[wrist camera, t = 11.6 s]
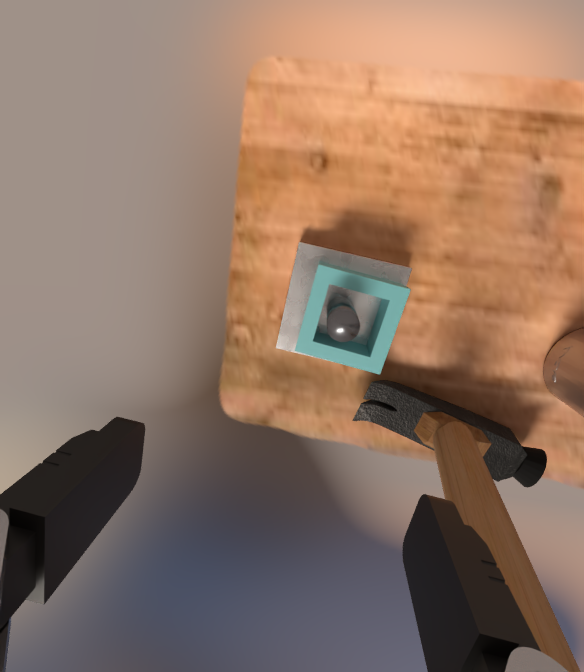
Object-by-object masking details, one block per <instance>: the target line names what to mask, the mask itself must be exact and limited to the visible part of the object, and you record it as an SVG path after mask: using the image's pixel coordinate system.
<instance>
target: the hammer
mask: <svg viewBox="0 0 584 672" xmlns="http://www.w3.org/2000/svg"><path fill="white" fill-rule="evenodd" d="M364 399H372V400H370V401H366V402H363V403H361V405H360V407H359V409H358V411H357V413H356V415H355V417H354V419H353V421H360V420H362V421H369V422H373V423H376V424H378V425H381V426H383V427H385V428H387V429H389V430H392V431H394V432H396V433H398V434H400V435H403V436H405V437H407V438H409V439H411V440H413V441H415V442H417V443H419V444H421V445H423V446H426V447H428V448H430V449H432V450H434V451H435V455H436V460H437V464H438V468H439V473H440V478H441V482H442V487H443V491H444V496H445V499H446V500H450V501H452V502H453V503H454V504H455V506H456V508H457V510H458V512H459V514H460V516H461V519H462V521H463V523H464V524H465V525H469V526H471V527H472V528H473V529H474V530H475V531H476V532H477V534H478V535H479V536H480V537H481V538H482V539H483V540H484V542H485V543H486V544H487V545H488V547H489V549H490V551H491V553H492V555H493V557H494V559H495V561H496V563H497V567H498V568H499V569H500V571H501V573H502V575H503V577H504V579H505V584H506V585H508V587H509V589H510V591H511V593H512V595H513V597H514V599H515V601H516V603H517V604H518V606H519V608H520V610H521V612H522V614H523V616H524V618H525V620H526V622H527V624H528V626H529V628H530V630H531V632H532V634H533V636H534V638H535V640H536V642H537V644H538V646H539V648H540V650H541V652H542V653H544V654H546V655H548V656H549V657H551V658H552V659H554V660H555V661H556V662H558V663H559V664H560V665H561V666H563V667H564V668H565V669H566V670H567V671H568V672H580V670H579V668H578V665H577V663H576V661H575V659H574V657H573V654H572V652H571V650H570V648H569V646H568V643H567V641H566V639H565V637H564V635H563V632H562V630H561V628H560V626H559V624H558V621H557V619H556V617H555V615H554V613H553V611H552V608H551V606H550V604H549V602H548V600H547V597H546V595H545V593H544V591H543V589H542V586H541V584H540V582H539V580H538V578H537V575H536V573H535V571H534V569H533V567H532V564H531V562H530V560H529V558H528V556H527V554H526V551H525V549H524V547H523V545H522V543H521V540H520V538H519V536H518V534H517V532H516V529H515V527H514V525H513V523H512V521H511V518H510V516H509V514H508V512H507V510H506V508H505V505H504V503H503V501H502V499H501V497H500V494H499V492H498V490H497V488H496V486H495V484H494V481H493V479H494V480H496V481H500V480H503V479H507V478H510V477H514V478H515V479H516V480H517V481H519V482H520V483H521V484H522V485H523V486H524V487H531V486H533V485H534V484H536V483H537V482H538V480H539V479H540V478H541V476H542V475H543V473H544V470H545V468H546V463H547V456H546V453H545V451H543V450H542V449H536V448H529V447H523V446H521V444H520V443H519V441H518V440H517V438H516V437H515V435H514V434H513V433H512V431H511V430H510V429H509V428H507V427H505V426H503V425H500V424H498V423H496V422H493V421H491V420H489V419H487V418H484V417H482V416H480V415H477V414H475V413H473V412H470V411H468V410H466V409H464V408H461V407H459V406H456V405H453V404H451V403H448V402H446V401H443V400H440V399H438V398H435V397H433V396H430V395H427V394H425V393H422V392H420V391H417V390H415V389H412V388H410V387H407V386H404V385H402V384H399V383H396V382H392V381H387V380H380V381H374V382H372V383H371V384H370V386H369V388H368V390H367V392H366V394H365V396H364Z"/></svg>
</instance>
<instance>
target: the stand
mask: <svg viewBox="0 0 584 672" xmlns="http://www.w3.org/2000/svg"><path fill="white" fill-rule="evenodd" d="M319 261H321V262H324V263H328V264H332V265H335V266H339V267H343V268H346V269H350V270H354V271H357V272H361V273H365V274H368V275H372V276H376V277H379V278H383V279H387V280H391V281H394V282H398V283H402V284H403V285H405V286H406V285H407V282H408V279H409V276H410V273H411V270H412V268H410V267H407V266H403V265H398V264H394V263H390V262H385V261H381V260H377V259H373V258H368V257H364V256H360V255H355V254H351V253H347V252H342V251H338V250H334V249H330V248H325V247H321V246H317V245H312V244H308V243H304V242H299V245H298V249H297V254H296V259H295V263H294V268H293V272H292V277H291V281H290V286H289V291H288V295H287V300H286V304H285V309H284V313H283V318H282V322H281V327H280V332H279V336H278V341H277V345H276V348H278V349H282V350H286V351H291V352H295V353H299V354H303V355H307V354H304V353H300V352H296V351H295V348H296V344H297V340H298V337H299V333H300V330H301V326H302V322H303V319H304V315H305V312H306V308H307V304H308V301H309V297H310V293H311V290H312V286H313V283H314V279H315V275H316V272H317V268H318V264H319ZM381 300H382V298H379V297H375V296H372V295H368V294H364V293H361V292H357V291H353V290H350V289H346V288H343V287H339V286H335V285H332V284H329V287H328V290H327V294H326V297H325V301H324V304H323V308H322V311H321V314H320V318H319V321H318V325H317V328H316V332H320V333H323V334H327V335H330V337H331V338H332V339H334V340H336V341H338V342H348V341H352V342H356V343H360V344H363V345H366V344H367V341H368V338H369V335H370V332H371V330H372V327H373V324H374V321H375V318H376V315H377V312H378V309H379V306H380V303H381ZM307 356H311V355H307ZM311 357H314V356H311ZM315 358H318V357H315ZM320 359H322V358H320ZM324 360H325V359H324ZM328 361H329V360H328Z"/></svg>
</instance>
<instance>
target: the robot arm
mask: <svg viewBox="0 0 584 672" xmlns="http://www.w3.org/2000/svg"><path fill="white" fill-rule="evenodd" d="M543 375H544V381H545V383H546V386H547V388H548V389H549V390H550V392H551V393H552V394H553V395H554V396H556V397H557V398H558V399H560V400H561V401H562V402H564V403H565V404H567V405H568V406H569V407H571V408H572V409H573V410H575V411H576V412H577V413H579V414H580V415H582V416H583V417H584V328H582V329H579V330H576V331H573V332H571V333H570V334H568V335H566V336H565V337H563V338H562V339H561V340H559V341H558V342H557V343H556V344H555V345H554V347H553V348H552V349H551V350H550V352H549V354H548V355H547V357H546V360H545V363H544V370H543ZM144 436H145V425H144V423H141V422H137V421H133V420H128V419H124V418H120V417H116V418H114V419H113V420H111V421H110V422H109V423H108V424H107V425H106V426H104V427H103V428H102V429H101V430H100V431H95V430H90V431H87V432H85V433H83V434H80V435H78V436H76V437H73V438H71V439H70V440H69V441H68V442H66V443H65V444H64V445H62V446H61V447H60V448H59V449H57V450H56V453H52V454H51V455H50V456H49V457H47V458H46V459H45V460H44V461H43V463H42V464H41V463H40V464H38V465H37V466H36V467H35V468H33V469H32V470H31V471H30V472H28V473H27V474H26V475H24V476H23V477H22V478H21V479H19V480H18V481H17V482H16V483H14V484H13V485H12V486H11V487H9V488H8V489H7V490H5V491H4V492H3V493H2V494H0V672H6V666H7V656H8V648H9V639H10V630H11V616H12V615H13V614H14V613H15V611H16V610H17V609H18V608H19V606H21V604H22V603H23V602H24V601H25V600H29V601H32V602H36V603H40V604H43V605H44V604H45V603H46V602H47V600H48V599H49V598H50V596H51V595H52V594H53V592H54V591H55V590H56V588H57V587H58V586H59V585H60V583H61V582H62V581H63V579H64V578H65V577H66V576H67V574H68V573H69V572H70V570H71V569H72V568H73V566H74V565H75V564H76V563H77V561H78V560H79V559H80V557H81V556H82V555H83V554H84V552H85V551H86V550H87V548H88V547H89V546H90V544H91V543H92V542H93V541H94V539H95V538H96V536H97V535H98V534H99V533H100V532H101V530H102V529H103V528H104V526H105V525H106V524H107V522H108V521H109V520H110V519H111V517H112V516H113V515H114V513H115V512H116V510H117V509H118V508H119V507H120V506H121V504H122V503H123V502H124V500H125V499H126V498H127V496H128V495H129V494H130V493H131V491H132V490H133V488H134V486H135V485H136V482H137V480H138V478H139V475H140V471H141V464H142V454H143V445H144ZM403 563H404V568H405V571H406V577H407V581H408V585H409V590H410V594H411V599H412V603H413V608H414V612H415V616H416V621H417V626H418V630H419V634H420V638H421V643H422V648H423V652H424V657H425V661H426V665H427V670H428V672H568V671H567V670H566V669H565V668H564V667H563V666H561V665H560V664H559V663H558V662H556V661H555V660H554V659H552V658H551V657H549V656H548V655H546V654H544V653H542V652H541V650H540V648H539V646H538V644H537V642H536V640H535V638H534V636H533V634H532V632H531V630H530V628H529V626H528V624H527V622H526V620H525V618H524V616H523V614H522V612H521V610H520V608H519V606H518V604H517V603H516V601H515V599H514V597H513V595H512V593H511V591H510V589H509V587H508V585H506V584H505V579H504V577H503V575H502V573H501V571H500V569H499V568H498V567H497V563H496V561H495V559H494V557H493V555H492V553H491V551H490V549H489V547H488V545H487V544H486V543H485V542H484V540H483V539H482V538H481V537H480V536H479V535H478V534H477V532H476V531H475V530H474V529H473V528H472V527H471V526H469V525H465V524H464V523H463V521H462V519H461V516H460V514H459V512H458V510H457V508H456V506H455V504H454V503H453V502H452V501H450V500H446V499H442V498H437V497H433V496H429V495H426V494H424V495H422V496H421V497H420V499H419V501H418V504H417V506H416V509H415V512H414V514H413V517H412V519H411V522H410V524H409V527H408V530H407V532H406V535H405V538H404V542H403Z"/></svg>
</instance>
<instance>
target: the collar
mask: <svg viewBox="0 0 584 672" xmlns="http://www.w3.org/2000/svg"><path fill="white" fill-rule="evenodd" d="M329 284H332V285H335V286H339V287H343V288H346V289H350V290H353V291H357V292H361V293H364V294H368V295H372V296H375V297H379V298H382V300H381V303H380V306H379V309H378V312H377V315H376V318H375V321H374V324H373V327H372V330H371V332H370V335H369V338H368V341H367V344H366V345H363V344H360V343H356V342H352V341H348V342H338V341H336V340H334V339H332V338H331V337H330V335H327V334H323V333H320V332H316V328H317V325H318V321H319V318H320V314H321V311H322V308H323V304H324V301H325V297H326V294H327V290H328V287H329ZM410 290H411V289H409V288H408V287H406V286H405V285H403V284H402V283H398V282H394V281H391V280H387V279H383V278H379V277H376V276H372V275H368V274H365V273H361V272H357V271H354V270H350V269H346V268H343V267H339V266H335V265H332V264H328V263H324V262H321V261H319V264H318V268H317V272H316V275H315V279H314V283H313V286H312V290H311V293H310V297H309V301H308V304H307V308H306V312H305V315H304V319H303V322H302V326H301V330H300V333H299V337H298V340H297V344H296V348H295V351H296V352H300V353H304V354H307V355H311V356H314V357H318V358H322V359H325V360H329V361H332V362H336V363H340V364H343V365H347V366H351V367H354V368H358V369H361V370H365V371H369V372H372V373H376V374H379V375H380V373H381V370H382V368H383V365H384V362H385V359H386V357H387V354H388V351H389V348H390V345H391V343H392V340H393V337H394V334H395V332H396V329H397V326H398V323H399V321H400V318H401V315H402V312H403V309H404V307H405V304H406V301H407V298H408V296H409V293H410Z"/></svg>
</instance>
